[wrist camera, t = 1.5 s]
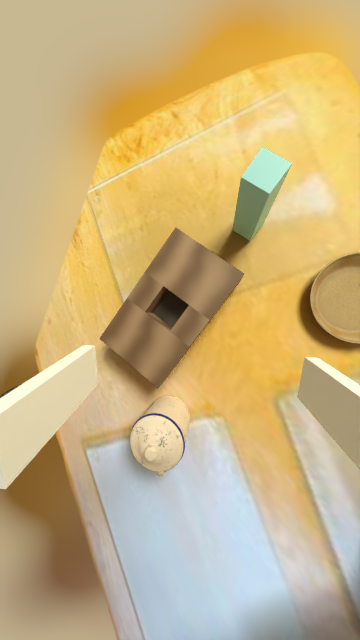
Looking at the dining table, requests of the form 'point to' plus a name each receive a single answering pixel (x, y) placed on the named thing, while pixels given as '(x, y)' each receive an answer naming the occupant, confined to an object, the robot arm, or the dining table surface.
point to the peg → (258, 191)
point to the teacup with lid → (161, 434)
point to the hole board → (170, 306)
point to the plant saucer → (338, 298)
